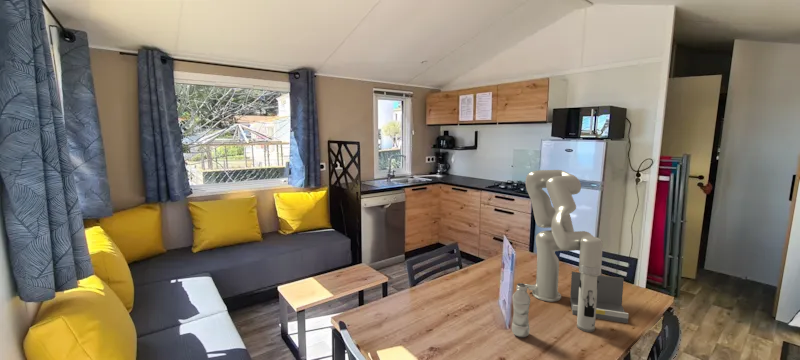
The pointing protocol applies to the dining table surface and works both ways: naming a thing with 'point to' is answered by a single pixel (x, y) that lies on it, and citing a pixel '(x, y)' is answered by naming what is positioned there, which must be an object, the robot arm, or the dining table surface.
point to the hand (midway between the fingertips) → (587, 310)
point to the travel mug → (583, 321)
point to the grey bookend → (602, 297)
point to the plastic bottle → (521, 311)
